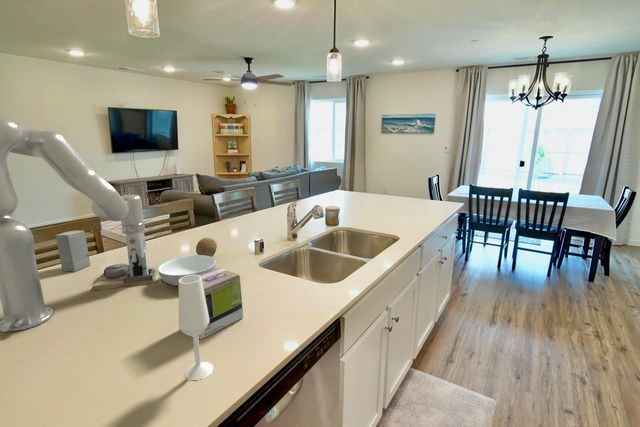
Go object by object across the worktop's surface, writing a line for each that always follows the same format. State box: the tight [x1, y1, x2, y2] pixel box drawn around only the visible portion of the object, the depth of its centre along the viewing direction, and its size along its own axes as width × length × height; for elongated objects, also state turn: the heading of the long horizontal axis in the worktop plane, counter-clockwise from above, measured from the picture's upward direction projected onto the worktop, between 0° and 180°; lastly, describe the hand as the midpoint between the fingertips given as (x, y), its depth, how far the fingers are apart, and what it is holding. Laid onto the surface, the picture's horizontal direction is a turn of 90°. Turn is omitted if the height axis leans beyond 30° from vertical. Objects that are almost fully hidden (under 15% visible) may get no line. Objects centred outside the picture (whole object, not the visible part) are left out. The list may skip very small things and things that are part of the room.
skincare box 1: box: [55, 230, 91, 273], centre depth 142 cm, size 8×7×16 cm
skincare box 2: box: [127, 250, 149, 277], centre depth 130 cm, size 6×4×12 cm
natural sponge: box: [195, 237, 218, 257], centre depth 153 cm, size 9×9×10 cm
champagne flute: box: [178, 275, 214, 381], centre depth 78 cm, size 7×7×24 cm
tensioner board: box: [92, 263, 159, 291], centre depth 132 cm, size 14×20×5 cm
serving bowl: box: [157, 254, 217, 287], centre depth 131 cm, size 21×21×7 cm
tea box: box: [177, 267, 244, 340], centre depth 100 cm, size 15×10×15 cm
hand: (139, 272), depth 130 cm, fingers closed on skincare box 2, 4 cm apart
